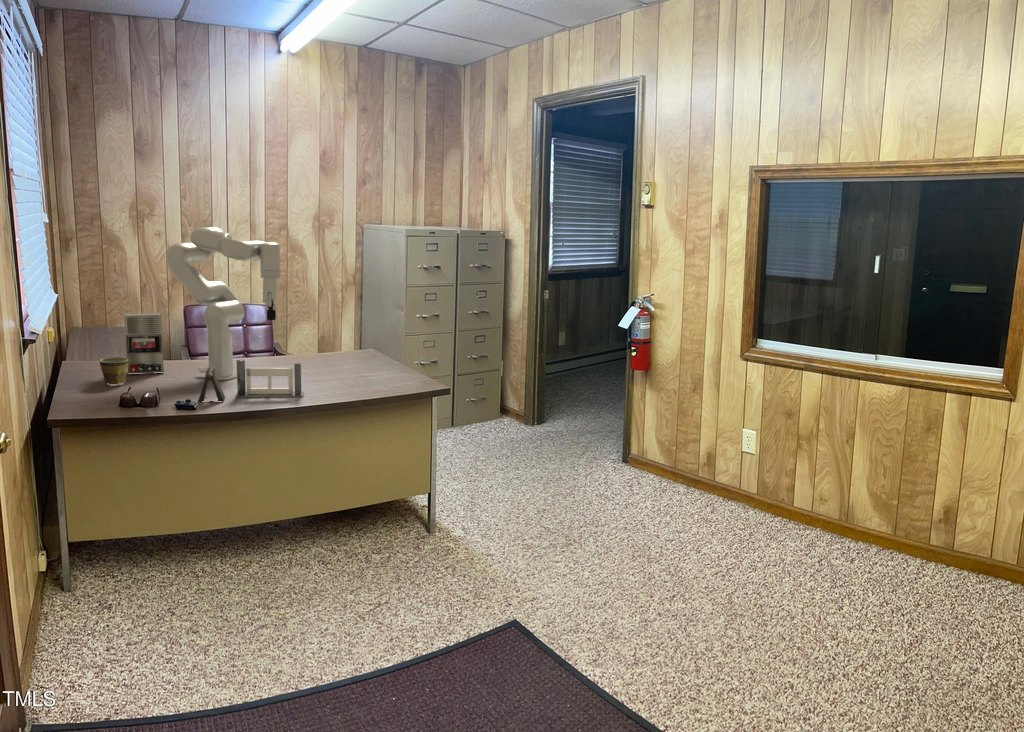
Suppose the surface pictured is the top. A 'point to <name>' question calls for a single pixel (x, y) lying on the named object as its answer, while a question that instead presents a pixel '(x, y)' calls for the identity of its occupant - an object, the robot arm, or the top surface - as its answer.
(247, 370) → the gate
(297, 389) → the gate frame
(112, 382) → the ceramic cup
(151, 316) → the cassette tape recorder
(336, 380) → the top surface
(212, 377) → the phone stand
